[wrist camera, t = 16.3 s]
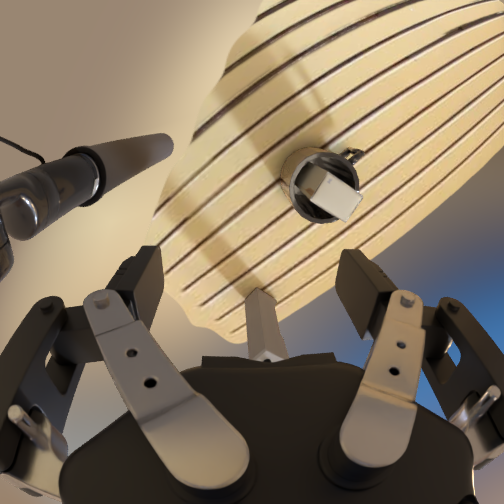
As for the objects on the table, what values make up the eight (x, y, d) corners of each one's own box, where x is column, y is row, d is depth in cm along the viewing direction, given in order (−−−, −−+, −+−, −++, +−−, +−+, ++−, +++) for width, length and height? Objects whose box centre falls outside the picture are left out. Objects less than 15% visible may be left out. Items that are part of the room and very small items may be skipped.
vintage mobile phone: (264, 311, 56) (280, 418, 33) (244, 299, 54) (252, 409, 32) (276, 299, 55) (300, 405, 32) (256, 286, 53) (271, 396, 30)
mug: (306, 219, 48) (319, 237, 40) (267, 175, 44) (273, 185, 37) (364, 170, 44) (386, 180, 37) (328, 123, 40) (347, 123, 33)
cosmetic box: (288, 179, 44) (306, 199, 33) (302, 157, 42) (326, 169, 31) (319, 199, 45) (346, 224, 34) (333, 177, 44) (364, 197, 33)
